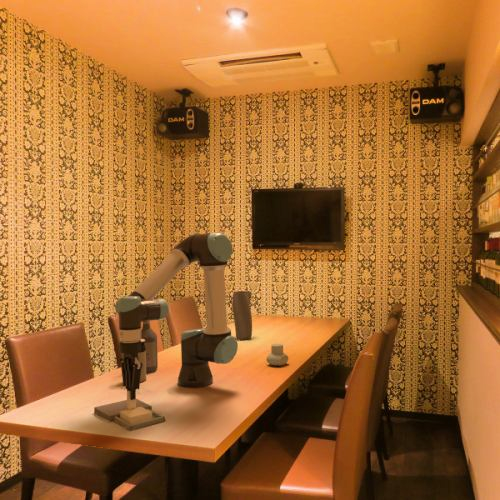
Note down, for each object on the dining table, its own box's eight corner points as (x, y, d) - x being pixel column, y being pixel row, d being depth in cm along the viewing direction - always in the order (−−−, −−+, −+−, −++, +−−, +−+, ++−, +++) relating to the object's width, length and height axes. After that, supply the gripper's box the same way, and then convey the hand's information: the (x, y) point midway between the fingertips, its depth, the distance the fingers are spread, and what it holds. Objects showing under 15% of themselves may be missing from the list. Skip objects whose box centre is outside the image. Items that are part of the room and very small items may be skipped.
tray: (148, 412, 180) (148, 408, 180) (165, 421, 171) (165, 416, 171) (114, 421, 172) (114, 416, 172) (130, 430, 162) (130, 426, 162)
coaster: (141, 413, 178) (141, 406, 178) (152, 419, 172) (152, 412, 172) (120, 418, 173) (119, 411, 173) (130, 425, 167) (130, 417, 167)
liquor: (155, 372, 237) (153, 309, 236) (135, 373, 237) (134, 309, 236) (158, 368, 246) (157, 307, 246) (139, 368, 246) (138, 307, 245)
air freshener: (278, 368, 242) (277, 347, 242) (264, 365, 247) (264, 345, 247) (290, 363, 250) (290, 343, 250) (276, 361, 255) (276, 342, 255)
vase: (243, 341, 310) (242, 293, 309) (229, 339, 318) (228, 292, 318) (256, 338, 318) (255, 291, 318) (242, 336, 327) (241, 290, 327)
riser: (134, 403, 191) (134, 398, 191) (151, 411, 181) (151, 406, 181) (94, 412, 181) (94, 407, 181) (109, 422, 171) (109, 416, 171)
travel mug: (138, 383, 218) (138, 342, 218) (124, 381, 222) (123, 341, 221) (149, 379, 225) (149, 339, 225) (135, 377, 229) (134, 338, 229)
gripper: (112, 339, 178) (113, 406, 178) (129, 344, 168) (130, 415, 168) (131, 337, 183) (132, 401, 183) (149, 341, 173) (150, 410, 173)
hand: (131, 408), depth 176 cm, fingers closed
